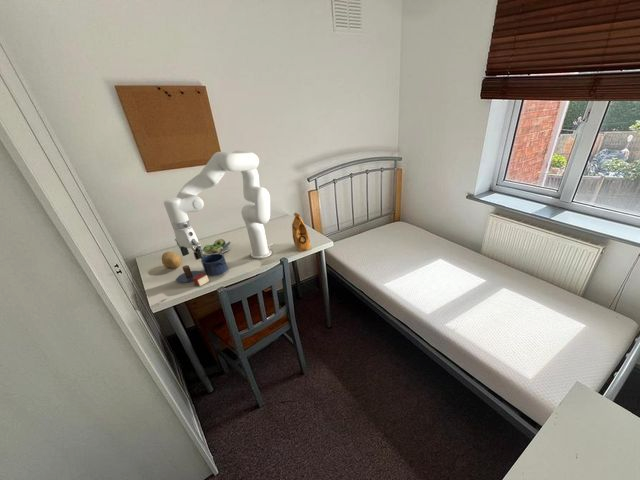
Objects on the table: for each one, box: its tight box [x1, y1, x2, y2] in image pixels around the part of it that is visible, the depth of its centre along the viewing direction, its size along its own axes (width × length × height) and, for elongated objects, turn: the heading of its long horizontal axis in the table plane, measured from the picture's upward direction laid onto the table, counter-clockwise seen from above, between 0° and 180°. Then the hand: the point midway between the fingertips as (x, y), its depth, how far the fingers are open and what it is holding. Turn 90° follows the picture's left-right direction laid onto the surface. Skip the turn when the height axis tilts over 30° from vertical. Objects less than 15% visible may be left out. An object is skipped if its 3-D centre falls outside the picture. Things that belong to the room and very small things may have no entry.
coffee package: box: [291, 212, 311, 252], centre depth 184 cm, size 10×12×22 cm
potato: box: [161, 251, 183, 269], centre depth 168 cm, size 10×14×8 cm
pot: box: [200, 254, 228, 277], centre depth 162 cm, size 11×17×8 cm
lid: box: [176, 265, 202, 284], centre depth 157 cm, size 12×12×7 cm
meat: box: [193, 272, 210, 287], centre depth 153 cm, size 6×4×4 cm
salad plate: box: [201, 238, 232, 256], centre depth 186 cm, size 19×18×5 cm
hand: (192, 256), depth 147 cm, fingers open, 9 cm apart
